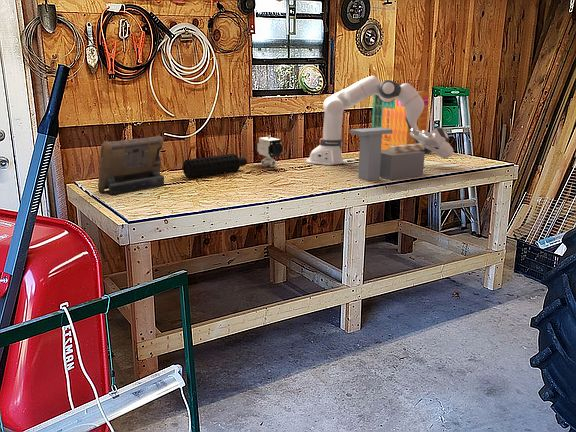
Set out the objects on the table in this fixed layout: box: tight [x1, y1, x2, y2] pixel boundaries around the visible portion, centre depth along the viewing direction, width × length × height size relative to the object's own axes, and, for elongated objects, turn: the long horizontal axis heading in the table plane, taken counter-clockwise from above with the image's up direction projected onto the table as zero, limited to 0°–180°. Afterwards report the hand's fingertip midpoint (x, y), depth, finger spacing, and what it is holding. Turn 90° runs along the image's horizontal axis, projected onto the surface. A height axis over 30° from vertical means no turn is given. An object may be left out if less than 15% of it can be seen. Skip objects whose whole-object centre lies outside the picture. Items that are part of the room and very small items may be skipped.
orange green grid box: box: [371, 90, 430, 151], centre depth 385 cm, size 34×18×40 cm, turn 35°
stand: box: [349, 127, 392, 182], centre depth 298 cm, size 20×10×26 cm, turn 120°
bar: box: [389, 143, 425, 153], centre depth 309 cm, size 22×4×3 cm, turn 120°
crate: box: [380, 149, 426, 181], centre depth 309 cm, size 23×16×13 cm
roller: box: [182, 153, 248, 179], centre depth 309 cm, size 38×10×10 cm, turn 129°
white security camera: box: [256, 135, 284, 168], centre depth 329 cm, size 18×8×18 cm, turn 35°
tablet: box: [97, 135, 165, 196], centre depth 271 cm, size 33×14×25 cm, turn 142°
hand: (417, 130), depth 310 cm, fingers open, 8 cm apart
